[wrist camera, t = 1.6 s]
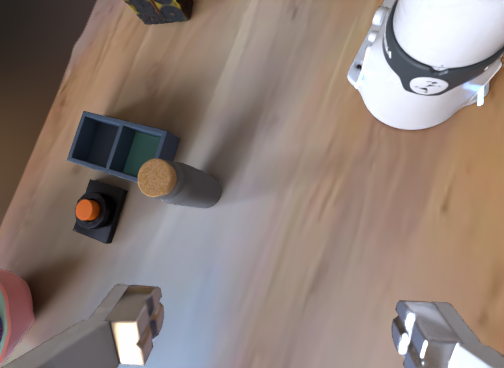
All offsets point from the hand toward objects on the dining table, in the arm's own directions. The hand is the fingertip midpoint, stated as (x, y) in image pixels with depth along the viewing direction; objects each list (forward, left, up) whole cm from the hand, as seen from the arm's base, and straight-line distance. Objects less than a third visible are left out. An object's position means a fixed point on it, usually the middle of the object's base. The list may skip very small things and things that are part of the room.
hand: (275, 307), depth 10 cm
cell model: (+29, -51, -34) cm, 68 cm away
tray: (-6, -37, -34) cm, 50 cm away
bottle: (-3, -20, -34) cm, 40 cm away
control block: (+6, -39, -34) cm, 52 cm away
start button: (+6, -39, -32) cm, 50 cm away
